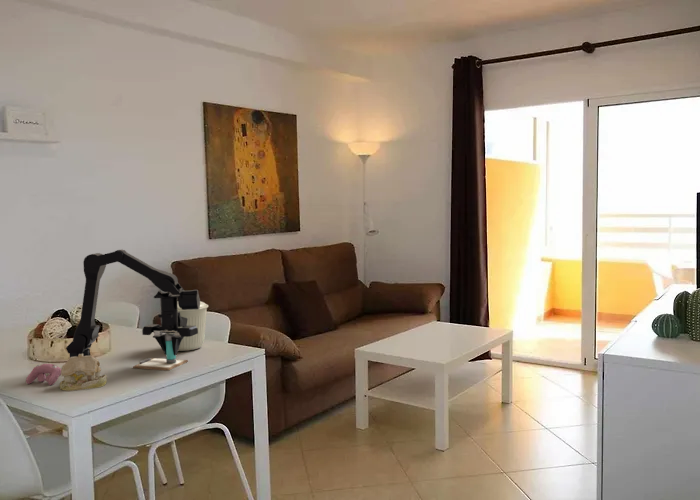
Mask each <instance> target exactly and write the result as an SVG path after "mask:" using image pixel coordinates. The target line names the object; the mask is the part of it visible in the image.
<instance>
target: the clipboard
mask: <svg viewBox="0 0 700 500" xmlns="http://www.w3.org/2000/svg"><path fill="white" fill-rule="evenodd" d="M188 362H189V360H188V359H179V358H178V359H177V358H176V362H175V363H166V358H158V357H157V358H156V357H151V358H150V357H147V358H145V359H142V360H141V361H139V362H138V364H135V365H133V366H132V369H142V370H143V369H144V370H154V371H155V370H157V371H171V370H173V369H175V368H177V367H180V366H181V365H184V364H185V363H188Z"/></svg>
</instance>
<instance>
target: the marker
mask: <svg viewBox="0 0 700 500" xmlns="http://www.w3.org/2000/svg"><path fill="white" fill-rule="evenodd" d="M173 336H175V334H166V335H165V341H166V355H165V356H166V358H165V359H166V363H175V362H176V359H177V355H174V353H173V346H172V339H171V337H173Z"/></svg>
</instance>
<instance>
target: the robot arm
mask: <svg viewBox="0 0 700 500" xmlns="http://www.w3.org/2000/svg"><path fill="white" fill-rule="evenodd" d="M82 263H83V272H84V278H85V284H84V292H83V298H82V305H81V313H80V320H79V322H78V324H77V326H76V328H75V331H74V334H73V337H72V341H71V342H70V343H69V344H68V345H67V346H66V348H65V349H66V351H67V353H68V354H69V358H70V357H75V356H76V357H78V355H79V354H82V353H83V356H89V355H90V356H91V352H90V351H91V350H90V348H92V345H93V343H94V342H96V341H97V338H98V337H100V335H99V330H100V326H101V325H99V324H98V325H96V322H95V317H96V312H97V311H96V310H97V304H98V297H99V289H100V282H101V279H102V277H103V274H104V272H105V270H106V267H107V265H110V264H114V263H119V264H121V265H123V266H125V267H127V268H129V269H130V270H132V271H134V272H136V274H139V275H141V276H143V277H144V278H147V279H148V280H149V281H151V283H152V284H153V285H154V287H155V286H156V288H158V289H159V290H158V291H157V292H156V294H155V295H154V296H153V299H159V305H160V306H159V307H160V308H159V309H160V313H159V314H158V318H160V324H157V323H156V324H155V323H151V324H148V325H144V326H143V327H142V329H141V331H142V332H141V335H142V336H151V335H152V333H153V336H152V338H154V339H155V340H156V342H157V343H158V345H159V346H160V348H161V350H162V351H163V353H164V355H165V356H166V341H165V335H166V334H169V333H175V336H173V337H171V339H172V346H173V353H174V355H176V356H177V355H178V353H179V351H178V349H179V346H180V343H181V341H182V339H183V338H184V337H190V336H193V335H195V334H198V329H197V327H196V326H187V320H188V319H187V318H185V317H181V316H180V312H178V305H179V307H180V308H182V310H197V309H199V308H200V301H201V298H200V294H199V290H198V289H193V290H184V288H183V286H181V284H180V283H179V282H178V281H179V279H178V277H177V276H176V275H175V274H173V273H171V272H168V271H165V270H162V269H157V268H155V267H154V266H152V265H150V264H148V263H146V262H145V261H143V260H141V259H139V258H137V257H136V256H134V255H132V254H130V253H128V252H127V251H126V250H125V249H117V250H114V251H112V252H111V251H110V252H108V253H100V252H95V253H90V254H88V255H87V256H85V257H84V259H83V262H82ZM177 301H178V304H177ZM178 327H182V328H178ZM172 330H175V331H172Z"/></svg>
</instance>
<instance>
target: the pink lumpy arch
mask: <svg viewBox="0 0 700 500" xmlns="http://www.w3.org/2000/svg"><path fill="white" fill-rule="evenodd" d="M61 369H62V367H60V366H58V365H55V364H53V363H43V364H36V365H35V367H33V369H32V370H31V371H30V373H29V374H28V375H27V377H26V379H25V384H27V385H30V384H32V383H34V381H35V380H36V379H37V381H38V382H40V383H43V382H45V381H46V383H47V384H48V386H50V387H51V386H53V385H55V384H56V382H57V381H58V379H59V377H60V376H61ZM46 375H47V376H46Z"/></svg>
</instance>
